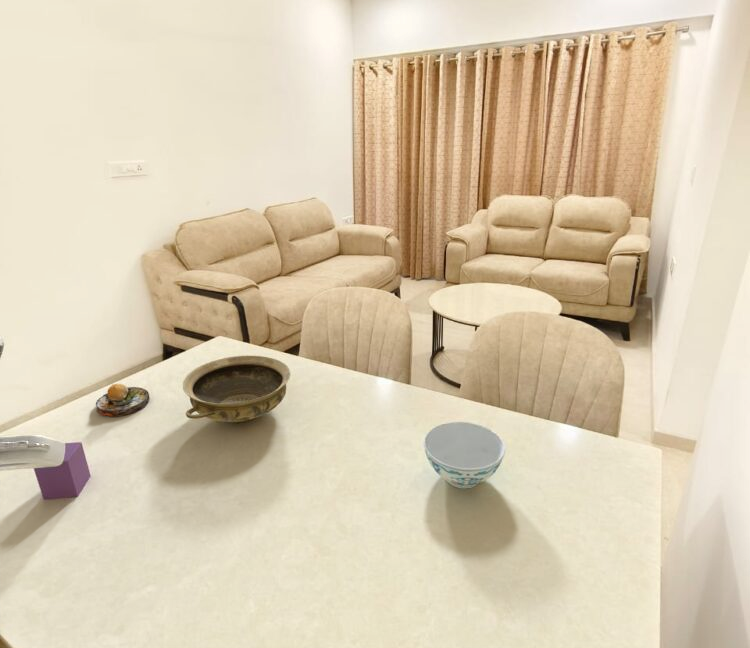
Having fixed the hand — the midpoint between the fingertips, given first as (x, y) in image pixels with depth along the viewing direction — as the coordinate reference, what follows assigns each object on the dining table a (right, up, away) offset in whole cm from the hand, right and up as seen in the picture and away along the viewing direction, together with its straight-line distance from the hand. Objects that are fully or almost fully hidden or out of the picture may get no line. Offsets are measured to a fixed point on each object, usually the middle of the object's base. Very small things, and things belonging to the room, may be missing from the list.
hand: (14, 464), depth 79 cm
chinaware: (+74, -7, +17) cm, 77 cm away
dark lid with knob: (-5, +2, +44) cm, 45 cm away
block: (-1, -9, +16) cm, 18 cm away
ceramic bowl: (+26, +1, +40) cm, 47 cm away
